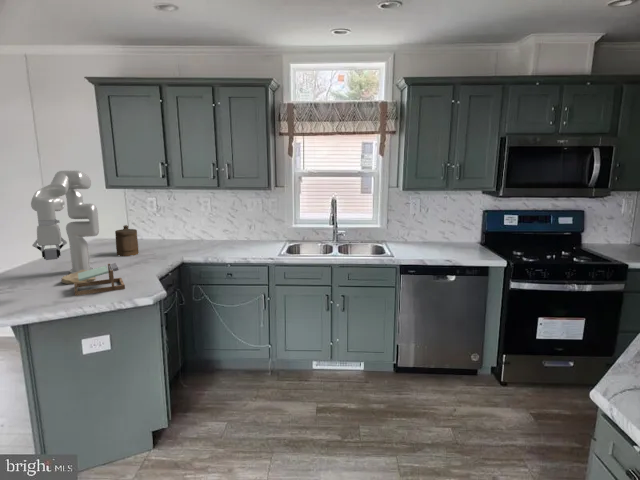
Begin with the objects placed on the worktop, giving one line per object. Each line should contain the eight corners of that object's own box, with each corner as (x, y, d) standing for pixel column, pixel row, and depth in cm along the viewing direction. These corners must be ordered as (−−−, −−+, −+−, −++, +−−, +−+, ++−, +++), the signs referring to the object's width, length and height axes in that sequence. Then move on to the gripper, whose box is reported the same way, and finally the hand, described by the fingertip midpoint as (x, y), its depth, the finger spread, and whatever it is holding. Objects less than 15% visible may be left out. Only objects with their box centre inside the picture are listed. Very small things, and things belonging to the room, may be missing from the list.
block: (46, 258, 206) (45, 248, 205) (57, 257, 208) (56, 247, 207) (45, 260, 202) (44, 250, 201) (57, 259, 204) (56, 249, 203)
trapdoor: (78, 275, 217) (77, 272, 216) (116, 265, 226) (115, 262, 226) (79, 281, 205) (78, 278, 205) (118, 270, 214) (118, 267, 214)
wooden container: (136, 251, 309) (134, 223, 305) (140, 255, 296) (138, 225, 292) (115, 253, 301) (113, 224, 296) (118, 257, 288) (115, 227, 284)
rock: (100, 276, 241) (100, 269, 240) (95, 284, 227) (95, 277, 226) (67, 277, 235) (66, 270, 234) (60, 286, 221) (59, 278, 220)
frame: (74, 287, 218) (72, 267, 216) (121, 280, 230) (119, 262, 228) (75, 295, 204) (72, 275, 202) (125, 288, 216) (123, 269, 214)
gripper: (67, 220, 209) (71, 254, 212) (27, 223, 200) (32, 258, 204) (67, 222, 203) (71, 257, 206) (25, 225, 194) (30, 261, 197)
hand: (51, 257), depth 205 cm, fingers closed on block, 5 cm apart
